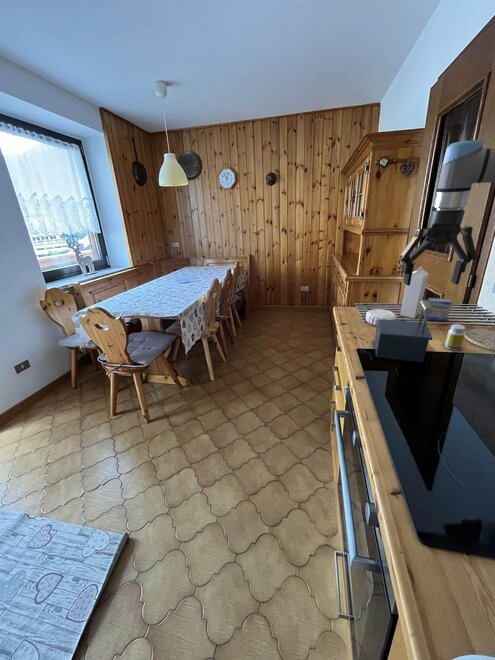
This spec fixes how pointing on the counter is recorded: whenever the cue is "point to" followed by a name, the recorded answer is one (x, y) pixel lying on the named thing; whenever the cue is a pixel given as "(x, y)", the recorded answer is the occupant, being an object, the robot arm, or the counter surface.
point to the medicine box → (439, 309)
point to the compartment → (400, 347)
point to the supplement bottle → (455, 337)
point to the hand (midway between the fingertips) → (430, 283)
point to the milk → (414, 293)
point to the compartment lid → (408, 326)
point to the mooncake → (379, 316)
